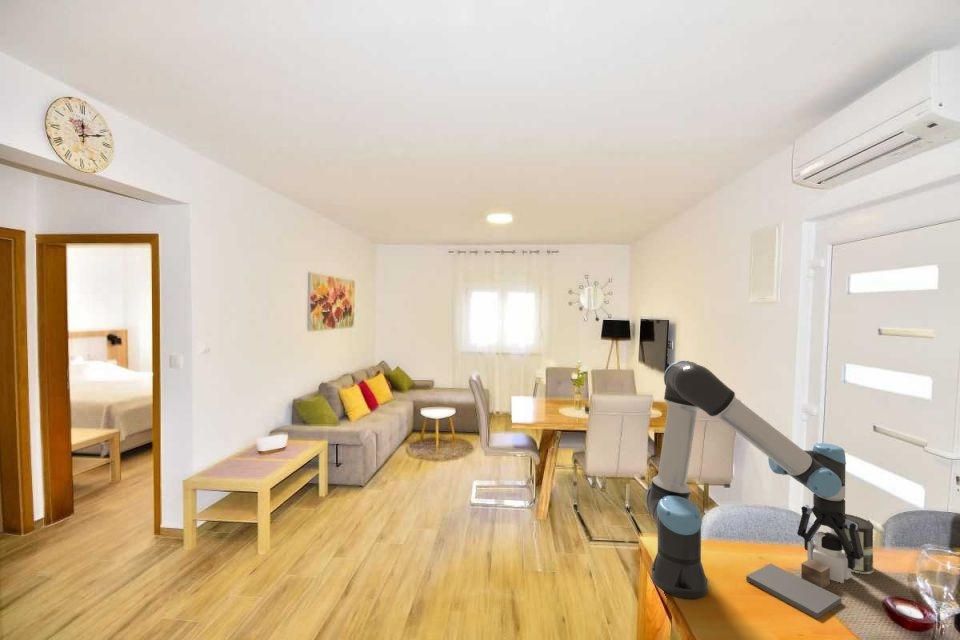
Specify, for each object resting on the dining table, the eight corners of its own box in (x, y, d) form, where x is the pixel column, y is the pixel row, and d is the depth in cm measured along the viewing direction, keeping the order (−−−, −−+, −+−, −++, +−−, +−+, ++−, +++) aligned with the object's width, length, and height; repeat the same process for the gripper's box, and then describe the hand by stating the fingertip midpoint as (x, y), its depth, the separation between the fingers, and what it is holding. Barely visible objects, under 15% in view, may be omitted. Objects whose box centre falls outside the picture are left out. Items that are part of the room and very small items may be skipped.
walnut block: (801, 579, 125) (801, 563, 125) (810, 575, 128) (810, 558, 128) (821, 589, 121) (821, 572, 121) (829, 584, 123) (829, 567, 123)
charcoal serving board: (746, 580, 125) (746, 575, 125) (770, 568, 131) (770, 563, 131) (817, 619, 109) (817, 613, 109) (841, 602, 115) (841, 597, 115)
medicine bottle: (844, 573, 128) (844, 534, 128) (843, 584, 123) (843, 543, 123) (815, 564, 133) (815, 526, 133) (812, 574, 128) (812, 535, 128)
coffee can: (858, 557, 137) (858, 514, 137) (882, 576, 127) (882, 530, 127) (822, 553, 139) (822, 511, 139) (842, 572, 129) (843, 526, 129)
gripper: (880, 507, 120) (879, 585, 121) (796, 481, 139) (795, 549, 139) (868, 513, 117) (868, 593, 117) (783, 485, 136) (783, 555, 136)
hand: (828, 569), depth 128 cm, fingers closed on medicine bottle, 8 cm apart
